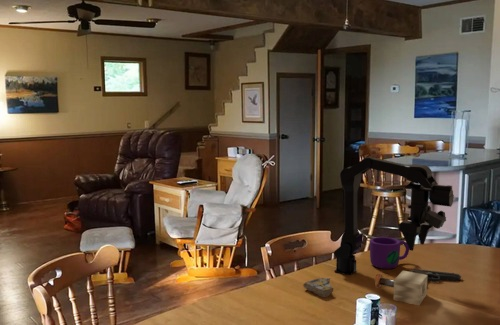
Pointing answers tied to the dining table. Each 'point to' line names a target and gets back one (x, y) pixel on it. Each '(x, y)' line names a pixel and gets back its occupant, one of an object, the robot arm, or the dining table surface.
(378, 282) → the pin
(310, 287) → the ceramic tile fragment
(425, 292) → the block
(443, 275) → the handgun
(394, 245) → the mug
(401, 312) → the dining table surface
